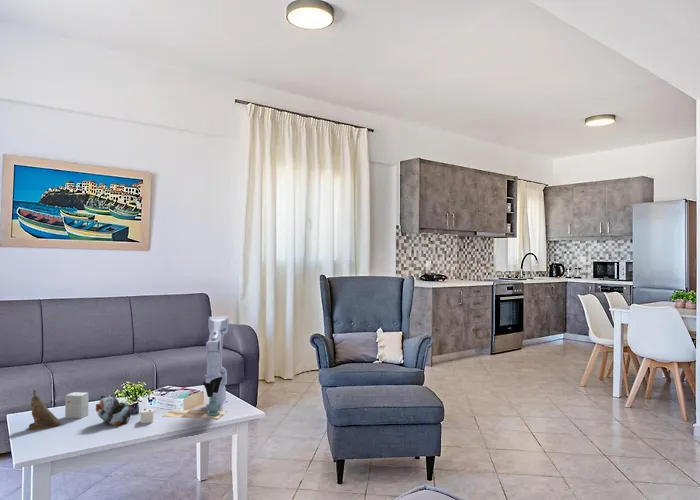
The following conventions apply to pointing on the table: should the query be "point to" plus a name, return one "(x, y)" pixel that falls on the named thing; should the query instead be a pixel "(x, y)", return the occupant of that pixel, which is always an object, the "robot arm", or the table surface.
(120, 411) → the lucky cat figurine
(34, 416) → the brown carved statuette
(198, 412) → the game board
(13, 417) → the table surface
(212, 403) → the pawn
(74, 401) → the small box
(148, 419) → the cream block
